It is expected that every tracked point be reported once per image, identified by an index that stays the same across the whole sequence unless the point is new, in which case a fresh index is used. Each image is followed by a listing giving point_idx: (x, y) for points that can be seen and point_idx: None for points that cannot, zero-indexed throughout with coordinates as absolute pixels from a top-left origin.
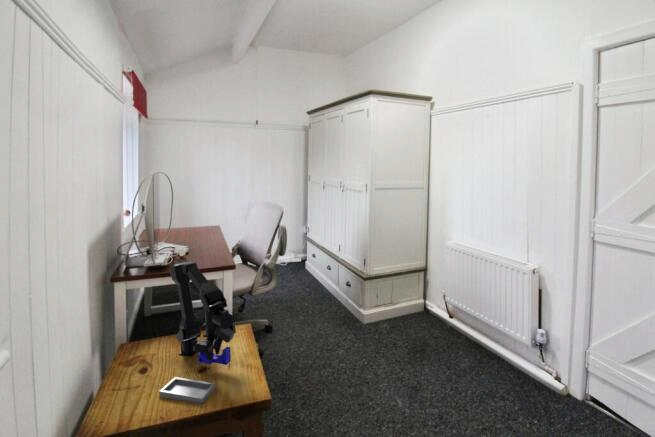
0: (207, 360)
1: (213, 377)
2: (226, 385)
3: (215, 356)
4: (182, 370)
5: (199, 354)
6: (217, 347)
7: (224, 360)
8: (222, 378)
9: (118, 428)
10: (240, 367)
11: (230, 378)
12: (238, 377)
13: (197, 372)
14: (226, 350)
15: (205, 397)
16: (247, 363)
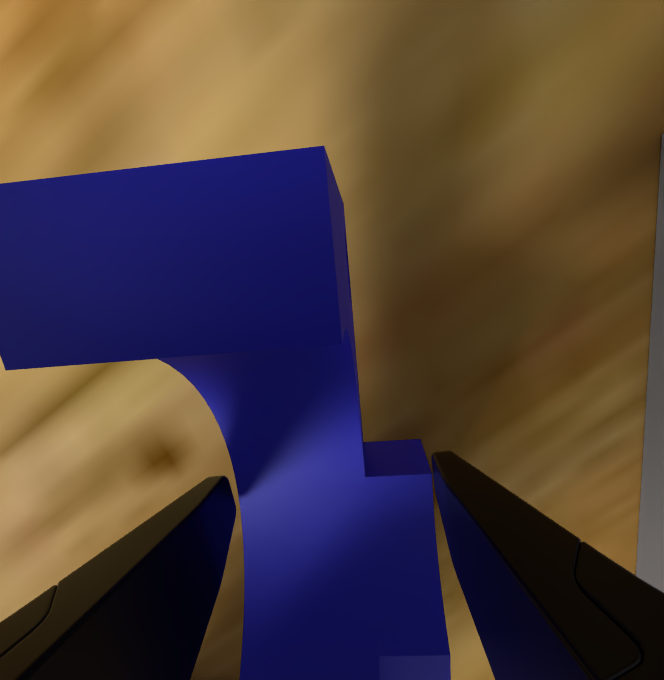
0: (434, 526)
1: (461, 313)
2: (565, 40)
3: (285, 485)
4: (456, 634)
5: None
6: (158, 614)
7: (344, 245)
8: (444, 201)
9: None
10: (157, 140)
11: (409, 100)
12: (351, 3)
13: (437, 511)
14: (271, 154)
15: None
16: (42, 111)
